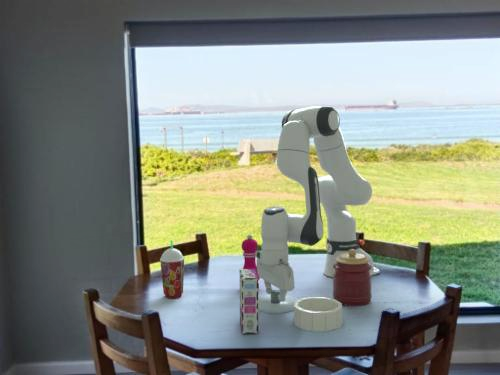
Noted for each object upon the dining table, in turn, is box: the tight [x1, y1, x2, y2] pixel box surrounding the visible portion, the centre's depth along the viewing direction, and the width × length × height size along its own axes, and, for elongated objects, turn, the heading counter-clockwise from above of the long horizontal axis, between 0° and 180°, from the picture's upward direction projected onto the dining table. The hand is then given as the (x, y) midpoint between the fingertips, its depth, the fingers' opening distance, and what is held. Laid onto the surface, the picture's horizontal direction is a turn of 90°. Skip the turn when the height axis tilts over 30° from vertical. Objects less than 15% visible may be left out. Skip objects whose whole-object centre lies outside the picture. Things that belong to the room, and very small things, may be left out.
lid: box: [258, 289, 299, 314], centre depth 173 cm, size 16×16×5 cm
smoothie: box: [159, 240, 185, 300], centre depth 183 cm, size 8×8×20 cm
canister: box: [332, 249, 373, 307], centre depth 176 cm, size 13×13×18 cm
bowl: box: [293, 296, 343, 332], centre depth 157 cm, size 14×14×6 cm
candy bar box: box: [238, 268, 259, 335], centre depth 153 cm, size 11×5×16 cm, turn 5°
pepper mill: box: [241, 234, 261, 290], centre depth 190 cm, size 7×7×20 cm
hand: (275, 297), depth 173 cm, fingers open, 8 cm apart
